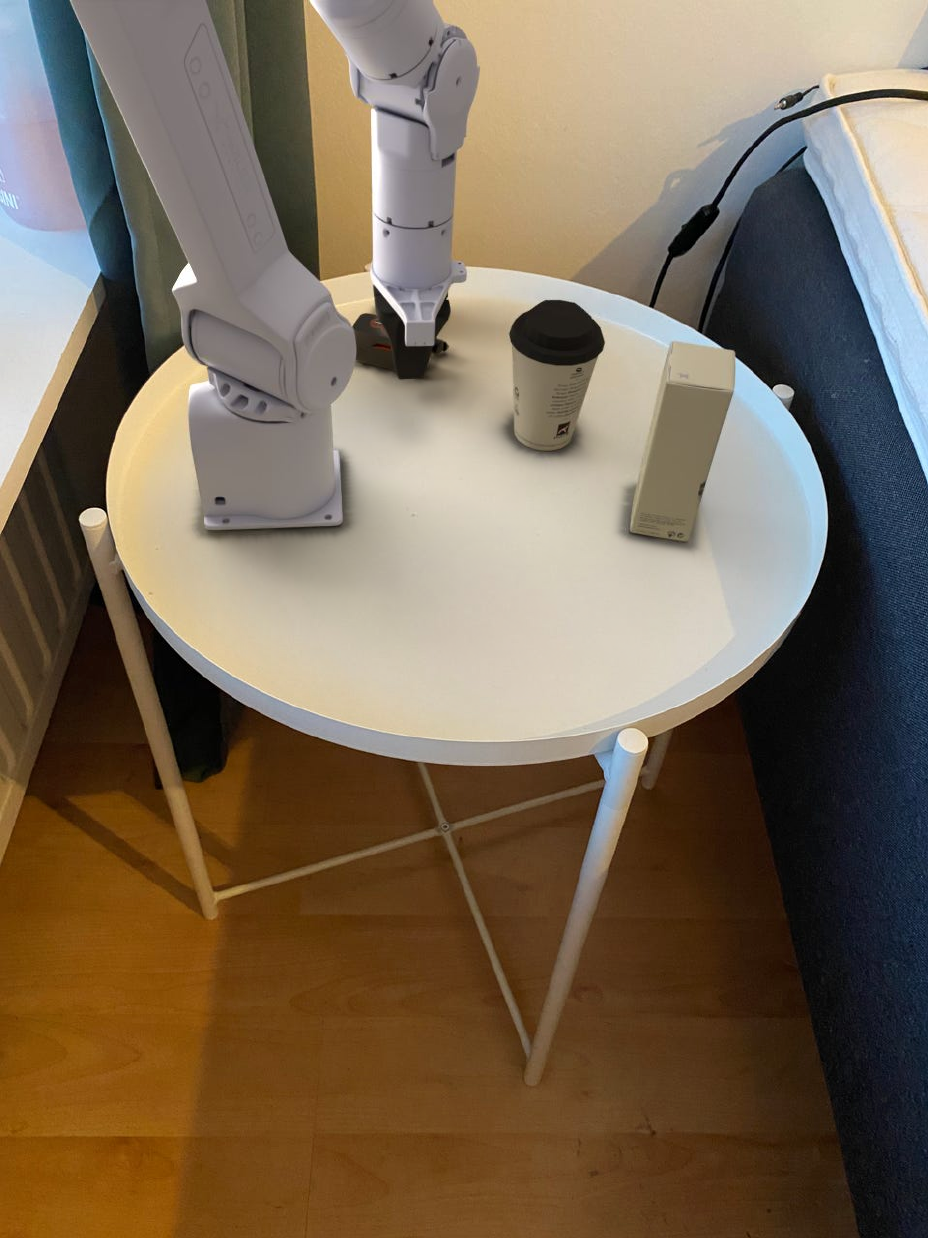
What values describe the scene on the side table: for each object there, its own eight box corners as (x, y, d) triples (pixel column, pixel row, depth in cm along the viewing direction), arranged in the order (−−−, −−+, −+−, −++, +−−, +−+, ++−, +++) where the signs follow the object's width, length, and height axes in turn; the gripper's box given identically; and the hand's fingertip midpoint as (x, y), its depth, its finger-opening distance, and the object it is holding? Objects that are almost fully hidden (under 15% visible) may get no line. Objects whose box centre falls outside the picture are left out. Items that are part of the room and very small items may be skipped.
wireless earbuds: (432, 382, 80) (433, 347, 78) (351, 363, 81) (349, 328, 79) (449, 352, 83) (451, 318, 81) (370, 334, 84) (370, 300, 82)
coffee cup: (587, 464, 74) (609, 351, 67) (496, 456, 74) (508, 342, 67) (586, 409, 79) (607, 297, 71) (501, 401, 79) (512, 289, 71)
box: (688, 545, 69) (736, 394, 59) (627, 534, 69) (665, 382, 60) (692, 497, 72) (738, 347, 63) (633, 487, 73) (670, 336, 63)
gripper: (483, 261, 64) (470, 428, 74) (458, 163, 73) (449, 323, 83) (375, 262, 63) (377, 430, 73) (364, 163, 72) (367, 324, 83)
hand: (410, 373), depth 78 cm, fingers closed
